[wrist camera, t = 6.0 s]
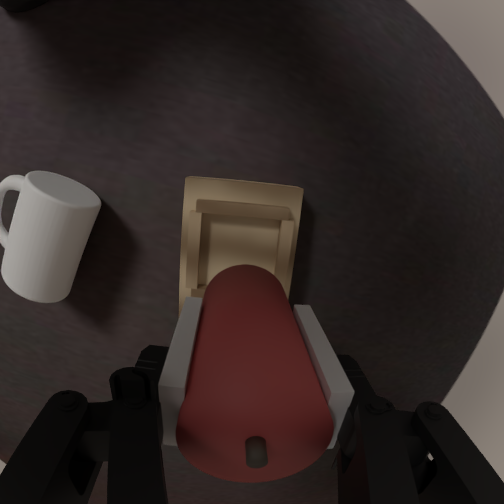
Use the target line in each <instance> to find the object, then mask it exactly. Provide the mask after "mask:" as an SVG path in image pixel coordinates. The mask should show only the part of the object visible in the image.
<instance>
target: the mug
mask: <svg viewBox="0 0 504 504" xmlns="http://www.w3.org/2000/svg"><path fill="white" fill-rule="evenodd" d="M7 190H17V191H20V194H19V198H18V201H17V204H16V208H15V211H14V215H13V219H12V223H11V226H10V230H9V233H8V232H7V231H6V229H5V228H4V226H3V224H2V219H1V210H2V203H3V199H4V196H5V193H6V191H7ZM100 208H101V200H100V198H99V197H98V196H97V195H96V194H95V193H94V192H93V191H92V190H90V189H89V188H87V187H86V186H84V185H82V184H81V183H79V182H77V181H75V180H72V179H70V178H68V177H65V176H62V175H59V174H56V173H52V172H47V171H32V172H29V173H28V174H27V175H26V176H25V177H24V176H21V175H11V176H9V177H7V178H5V179H4V180H3V181H2V182H1V183H0V243H1V244H2V246H3V247H4V248H5V252H4V257H3V262H2V267H1V273H2V277H3V279H4V281H5V283H6V284H7V285H8V286H9V288H10V289H12V290H13V291H14V292H15V293H17V294H18V295H20V296H22V297H24V298H26V299H29V300H32V301H35V302H41V303H53V302H58V301H61V300H63V299H64V298H66V297H67V296H68V294H69V293H70V290H71V287H72V284H73V281H74V278H75V274H76V271H77V269H78V266H79V263H80V260H81V257H82V254H83V251H84V249H85V246H86V243H87V240H88V238H89V235H90V233H91V230H92V227H93V225H94V222H95V220H96V217H97V215H98V212H99V210H100Z"/></svg>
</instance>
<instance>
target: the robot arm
mask: <svg viewBox="0 0 504 504" xmlns="http://www.w3.org/2000/svg"><path fill="white" fill-rule="evenodd" d="M46 1H48V0H0V6H1V7H3V8H5V9H6V10H8V11H11V12H22V11H26V10H29V9H32V8H35V7H37V6H39V5H41V4H43V3H45V2H46ZM201 311H202V298H197V297H186V299H185V302H184V305H183V308H182V311H181V314H180V317H179V320H178V323H177V326H176V329H175V332H174V335H173V338H172V342H171V345H170V347H163V346H155V345H149V346H148V347H146V348H145V349H144V350H142V351H141V354H140V356H139V358H138V361H137V363H136V365H135V367H126V368H122V369H119V370H116V371H115V372H114V373H113V374H111V376H110V379H109V382H110V388H111V393H112V399H113V400H111V401H108V402H95V403H88V401H87V398H86V397H85V396H84V395H83V394H82V393H79V392H77V391H71V390H66V391H60V392H58V393H56V394H54V395H53V396H52V397H51V398H50V399H49V400H48V402H47V403H46V405H45V406H44V408H43V409H42V410H41V412H40V413H39V415H38V416H37V418H36V419H35V421H34V422H33V424H32V425H31V427H30V428H29V430H28V431H27V433H26V434H25V436H24V438H23V439H22V441H21V442H20V444H19V445H18V447H17V448H16V450H15V452H14V453H13V455H12V456H11V458H10V460H9V461H8V463H7V465H6V466H5V468H4V469H3V471H2V473H1V474H0V504H87V503H88V501H89V498H90V495H91V492H92V490H93V487H94V484H95V482H96V479H97V476H98V474H99V471H100V468H101V466H102V463H103V461H108V482H107V504H168V498H167V491H166V484H165V476H164V467H163V459H162V450H161V443H162V439H163V442H164V445H172V446H178V445H177V442H176V426H177V421H178V415H179V411H180V407H181V405H182V403H183V401H184V400H185V394H186V388H187V383H188V378H189V372H190V367H191V362H192V356H193V351H194V346H195V341H196V336H197V331H198V326H199V321H200V316H201ZM293 315H294V317H295V320H296V323H297V325H298V328H299V331H300V333H301V336H302V338H303V341H304V344H305V346H306V349H307V352H308V354H309V357H310V360H311V362H312V365H313V368H314V371H315V373H316V376H317V379H318V381H319V384H320V387H321V389H322V392H323V395H324V398H325V400H326V403H327V406H328V409H329V411H330V414H331V417H332V420H333V425H334V431H333V436H332V440H331V442H330V444H329V446H328V448H327V449H331V448H333V447H334V445H335V443H336V440H337V438H338V441H339V443H340V446H341V447H340V449H339V451H338V454H337V456H336V458H335V460H334V462H333V465H332V469H335V467H336V465H337V466H338V504H504V483H503V481H502V480H501V478H500V477H499V476H498V475H497V473H496V472H495V470H494V469H493V468H492V466H491V465H490V464H489V462H488V461H487V460H486V458H485V457H484V456H483V454H482V453H481V452H480V451H479V450H478V448H477V447H476V446H475V444H474V443H473V442H472V440H471V439H470V438H469V436H468V435H467V434H466V433H465V431H464V430H463V429H462V428H461V426H460V425H459V424H458V423H457V421H456V420H455V419H454V417H453V416H452V415H451V414H450V413H449V411H448V410H447V409H446V408H445V407H444V406H442V405H440V404H438V403H435V402H423V403H421V404H419V405H418V407H417V408H416V410H415V412H408V411H399V410H395V407H394V406H393V404H392V403H391V402H390V401H388V400H387V399H385V398H382V397H379V396H376V394H375V392H374V390H373V389H372V387H371V385H370V384H369V382H368V380H367V379H366V377H364V376H365V375H364V373H363V372H362V371H361V368H360V367H359V365H358V363H357V362H356V361H355V360H354V359H353V358H351V357H350V356H349V355H336V354H335V353H334V351H333V349H332V347H331V345H330V343H329V341H328V339H327V337H326V335H325V333H324V331H323V329H322V328H321V326H320V324H319V322H318V320H317V318H316V316H315V314H314V312H313V311H312V309H311V307H310V305H296V304H294V309H293ZM429 453H430V454H431V455H432V457H433V458H434V459H433V460H432V461H431V460H430V459H429V458H428V454H429Z"/></svg>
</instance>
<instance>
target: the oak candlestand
mask: <svg viewBox="0 0 504 504" xmlns="http://www.w3.org/2000/svg"><path fill="white" fill-rule="evenodd" d="M303 190H304V189H303V188H300V187H297V186H289V185H281V184H272V183H262V182H253V181H242V180H232V179H220V178H208V177H194V176H189V177H186V179H185V191H184V205H183V220H182V237H181V258H180V286H179V317H180V314H181V311H182V308H183V305H184V302H185V299H186V297H197V298H202V301H203V297H204V293H205V290H206V288H207V286H208V284H209V282H210V281H211V280H212V279H213V277H215V276H216V275H217V274H218V273H219V272H221V271H222V270H224V269H226V268H229V267H231V266H235V265H242V264H249V265H255V266H259V267H261V268H264V269H266V270H268V271H269V272H271V273H272V274H273V275H274V276H275V277H276V278H277V279H278V280H279V281H280V283H281V284H282V286H283V289H284V291H285V294H286V296H287V299H288V298H289V291H290V285H291V278H292V271H293V265H294V258H295V251H296V244H297V236H298V229H299V222H300V214H301V206H302V198H303Z"/></svg>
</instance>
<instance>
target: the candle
mask: <svg viewBox="0 0 504 504" xmlns="http://www.w3.org/2000/svg"><path fill="white" fill-rule="evenodd" d="M333 431H334V425H333V420H332V417H331V414H330V411H329V409H328V406H327V403H326V400H325V398H324V395H323V392H322V389H321V387H320V384H319V381H318V379H317V376H316V373H315V371H314V368H313V365H312V362H311V360H310V357H309V354H308V352H307V349H306V346H305V344H304V341H303V338H302V336H301V333H300V331H299V328H298V325H297V323H296V320H295V317H294V315H293V312H292V309H291V307H290V304H289V302H288V299H287V296H286V294H285V291H284V289H283V286H282V284H281V283H280V281H279V280H278V279H277V278H276V277H275V276H274V275H273V274H272V273H271V272H269V271H268V270H266V269H264V268H261V267H259V266H255V265H249V264H242V265H235V266H231V267H229V268H226V269H224V270H222V271H221V272H219V273H218V274H217V275H216V276H215V277H213V279H212V280H211V281H210V282H209V284H208V286H207V288H206V290H205V293H204V297H203V301H202V311H201V316H200V321H199V326H198V331H197V336H196V341H195V346H194V351H193V356H192V362H191V367H190V372H189V378H188V383H187V388H186V394H185V400H184V401H183V403H182V405H181V407H180V411H179V415H178V421H177V426H176V442H177V445H178V448H179V450H180V451H181V453H182V455H183V456H184V457H185V458H186V459H187V460H188V461H189V462H190V463H191V464H192V465H193V466H195V467H196V468H198V469H199V470H201V471H203V472H205V473H207V474H209V475H212V476H214V477H217V478H220V479H224V480H229V481H235V482H248V483H249V482H266V481H272V480H276V479H280V478H284V477H287V476H290V475H293V474H295V473H297V472H299V471H301V470H303V469H305V468H306V467H308V466H309V465H311V464H312V463H314V462H315V461H316V460H317V459H318V458H319V457H320V456H321V455H322V454H323V453H324V452H325V451H326V449H327V448H328V446H329V444H330V442H331V440H332V436H333Z"/></svg>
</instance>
